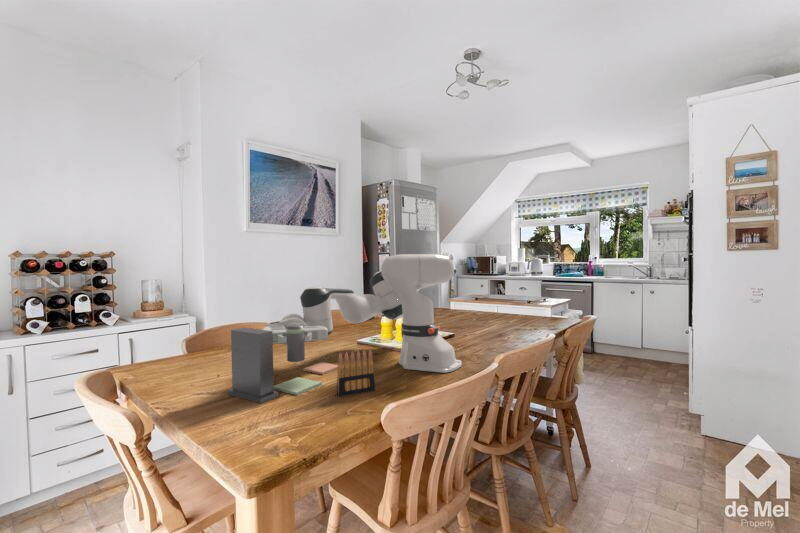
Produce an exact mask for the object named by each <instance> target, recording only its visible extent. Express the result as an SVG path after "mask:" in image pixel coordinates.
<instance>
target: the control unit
mask: <svg viewBox="0 0 800 533" xmlns="http://www.w3.org/2000/svg"><path fill="white" fill-rule="evenodd" d="M230 344H231V345H230V347H231V349H230V351H231V380H232V381H231V382H232V384H231V385H232V386H231V388H229V389H227V395H229V394H230V395H229V396H233V395H234V396H233V397H236V396H237V397H238V398H240V397H241V398H240V399H243V398H244V399H243V400H247V399H248V401H250V400H251V402H254V401H255V402H254V403H257V402H258V403H257V404H262V403H265V402H267V401H270V400H272V399H276V398H278V397H279V396H280V395H279V394H280V391H277V390H274V386H275V385H274V384H275V383H274V344H273V335H272V331H267V330H262V329H259V328H258V329H257V328H250V327H241V328H236V329H231V330H230ZM237 397H236V398H237ZM275 397H276V398H275Z"/></svg>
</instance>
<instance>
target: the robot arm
mask: <svg viewBox="0 0 800 533" xmlns="http://www.w3.org/2000/svg"><path fill="white" fill-rule="evenodd" d="M453 274H454V265H453V262H452V260H451V259H450V257H449V256H447V255H443V254H436V253H418V254H417V253H405V254H404V253H402V254H394V255H389V256H387V257H385V259H384V260H383V262H382V264H381V267H380V270H379V271H377V272H375V273H374V274H373V276H371V278H370V280H369V283H370V286H371V288H372V290H373V292H374V294H371V293H369V294H368V293H366V294H365V293H364V294H359V295H357V294H356V293H355V292H354V291H353V290H352V289H349V288H325V287H321V286H310V287H308V288H306V289H304V290H303V291H302V293H301V294H300V297H299V298H300V303H301V307H302V314H303V316H301V315H300V314H298V313H296V312H295V313H293V312H292V313H288V314H286V315H285V316H283V318H282V319H281V320H280V321H278V320H277V321H273V322H268V323H265V326H264V327H262V329H261V330H267V331H272V335H273V345H275V344H276V345H285V346H287V333H286V328H287V326H289V325H304V328H305V332H304V343H311V342H317V341H318V342H319V341H325V340H328V339H329V336H330V335H331V334H332V333H333V331H334V327H333V326H334V325H333V317H332V309H331V300H335V301H336V303H337V304H338V307H339V308H338V309H339V311H340V314H341V316H342V317H343V319H344V320H345V321H347V322H349V323H351V324H361V323H363V322H366V321H368V320H370V319H372V318H373V317H375V316H376V315H378V314H382V315H381V317H383V318H387V319H389V320H399V319H401V318H402V322H401V328H400V329H401V331H400V332H401V338H402V340H401V348H400V356H399V360H398V364H399V365H400V366H401V367H402V369H404V370H409V371H410V370H412V371H413V370H414V371H421V372H432V373H433V372H435V373H443V374H445V373H450V372H454V371H457V370H458V369H460V367H462V365H463V364H462V363H463V361H462V360H461V359H456V354H455V349H454V346H452V345H451V344H450V343H449V342H448V341H447V340H446V339H444V338H443V336H441V335H440V334H439V330H441V328H440V327H441V325H438V326H437V325H436V324H435V323H434V303H433V300H432V299H431V298H430V297H429V296H426V295H424V294H423V293H421V292H419V291H420V290H421V289H425V288H429V287H432V286H433V287H434V286H436V285H440V284H444V283H447V282H449V281H450V280H451V279H452V276H453ZM397 299H398V300H397Z"/></svg>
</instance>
